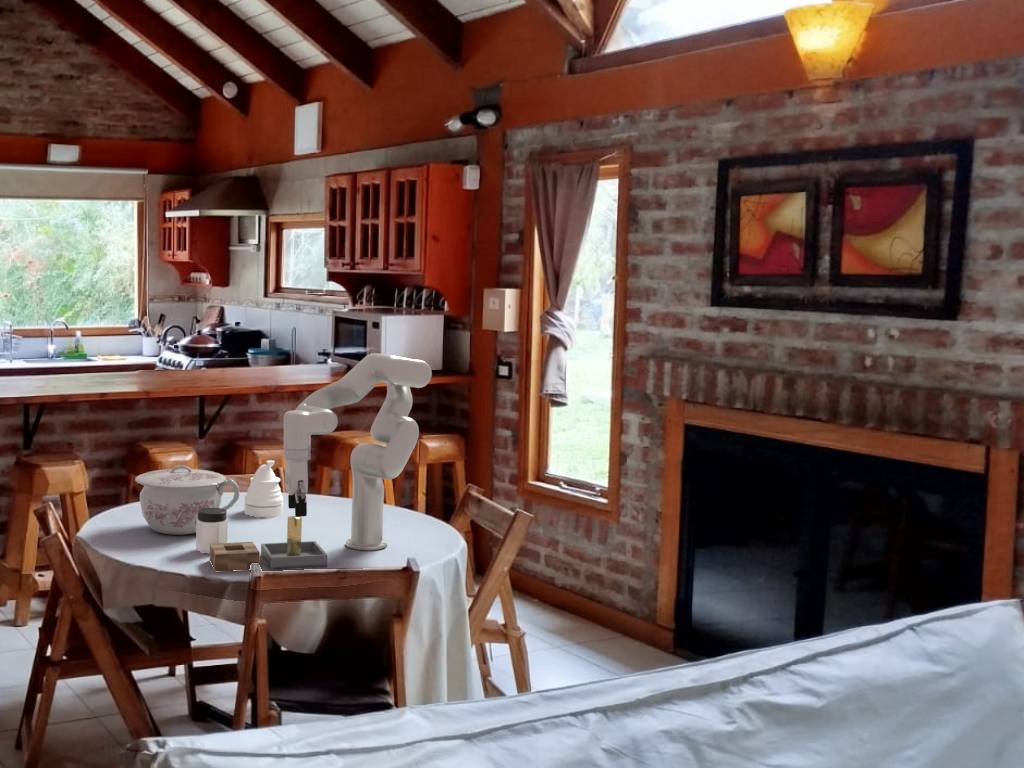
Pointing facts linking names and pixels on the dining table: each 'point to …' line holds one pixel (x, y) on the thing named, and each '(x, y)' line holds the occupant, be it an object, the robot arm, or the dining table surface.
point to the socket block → (233, 556)
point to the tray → (279, 560)
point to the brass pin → (294, 536)
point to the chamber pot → (181, 497)
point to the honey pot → (264, 494)
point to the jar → (211, 528)
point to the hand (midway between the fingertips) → (297, 512)
